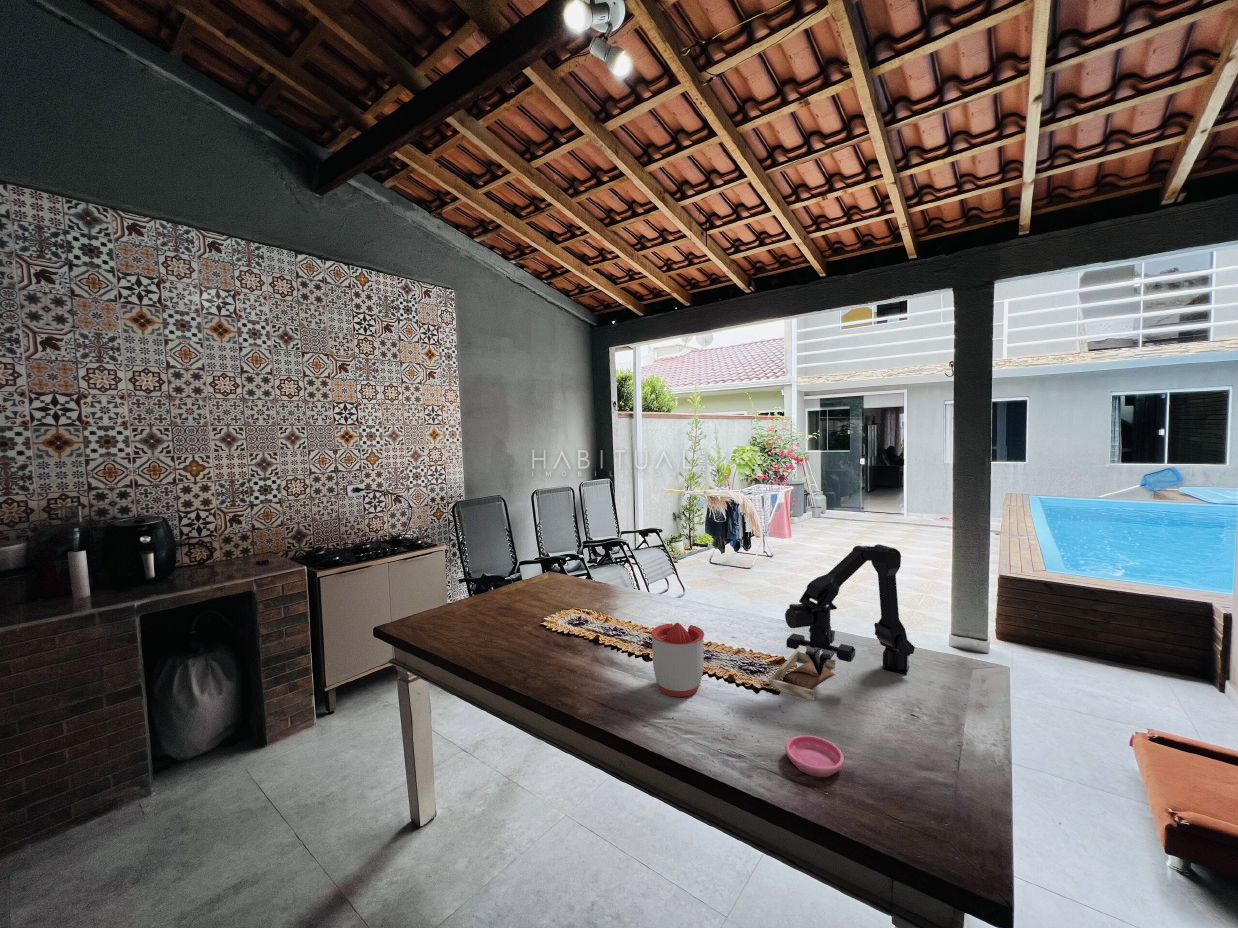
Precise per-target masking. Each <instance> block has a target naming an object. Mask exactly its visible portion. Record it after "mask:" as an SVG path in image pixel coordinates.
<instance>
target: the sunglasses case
mask: <svg viewBox="0 0 1238 928" xmlns="http://www.w3.org/2000/svg"><path fill="white" fill-rule="evenodd" d="M833 676H836V674H835V673H834V672H833V671H831V670H829V668H827V666H825V667H824V669H823V672H822V674H821V675H818V673H817V671H816V669H815V666H814V664H813V662H812V660H811V661H809V662H808V661H806V662H805V663H803V664H801V665H800V666H798V667H796V668H794V669H792V670H791V671H788V672H787V673H786V674H785V675H784V676H783V678H782V682H786V683H789V684H793V685H796V686H800V687H804V688H807V689H811V690H814V688H815V687H817V686H818V685H820V684H821V683H823V682H825V681H826V680H828V679H830V678H832V677H833Z"/></svg>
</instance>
